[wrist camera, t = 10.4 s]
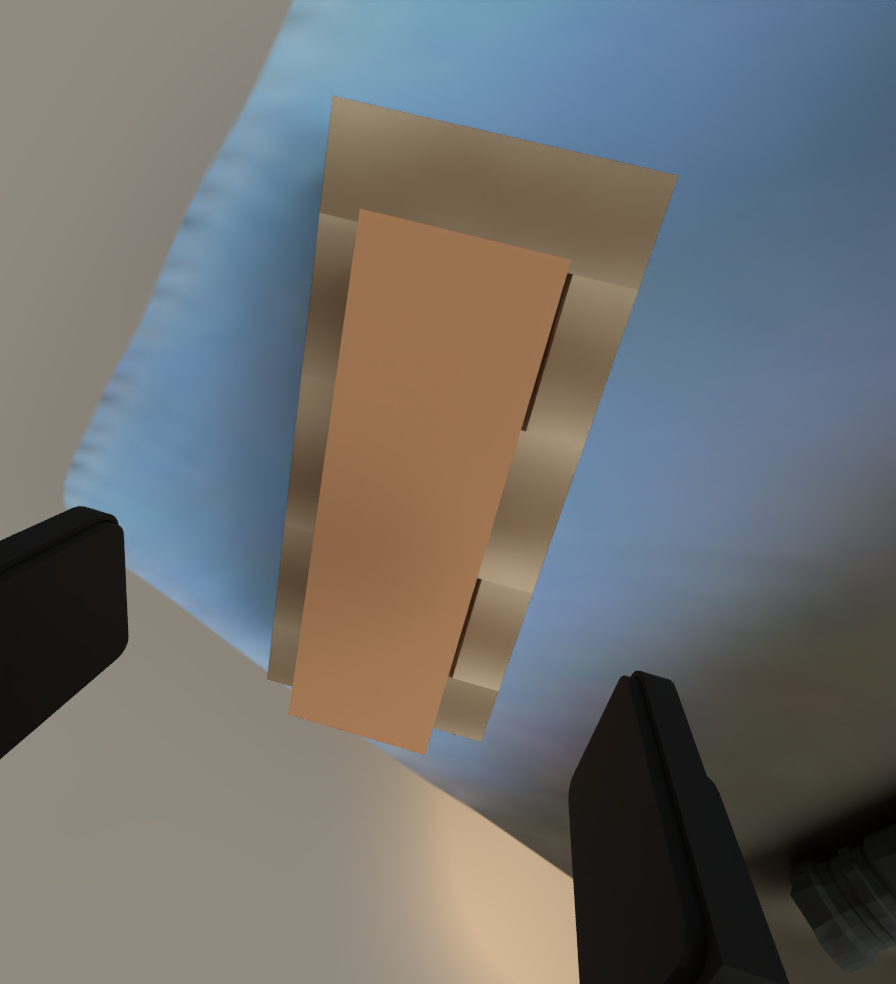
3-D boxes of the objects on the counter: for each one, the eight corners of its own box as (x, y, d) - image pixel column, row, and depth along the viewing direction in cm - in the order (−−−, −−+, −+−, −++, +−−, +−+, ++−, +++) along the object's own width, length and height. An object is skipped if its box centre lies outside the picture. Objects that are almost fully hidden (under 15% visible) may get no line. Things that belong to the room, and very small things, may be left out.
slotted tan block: (372, 139, 18) (332, 95, 14) (645, 203, 17) (678, 175, 14) (303, 625, 26) (267, 679, 22) (486, 678, 25) (480, 742, 22)
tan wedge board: (424, 246, 19) (360, 208, 11) (552, 278, 19) (570, 259, 11) (358, 592, 25) (288, 714, 17) (454, 619, 25) (424, 754, 17)
